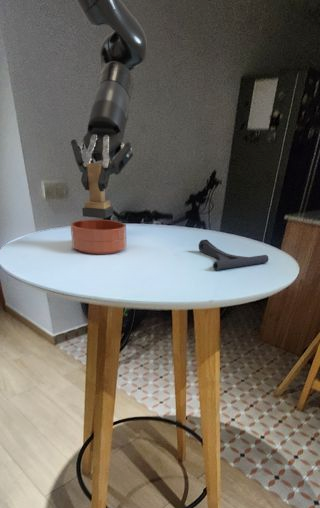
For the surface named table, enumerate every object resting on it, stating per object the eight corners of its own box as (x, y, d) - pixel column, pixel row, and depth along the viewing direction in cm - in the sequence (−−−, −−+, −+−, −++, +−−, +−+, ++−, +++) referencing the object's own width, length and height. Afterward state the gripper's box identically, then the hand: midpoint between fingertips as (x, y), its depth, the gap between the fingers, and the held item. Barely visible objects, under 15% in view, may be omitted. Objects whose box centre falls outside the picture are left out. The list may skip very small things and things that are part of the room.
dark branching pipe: (223, 248, 90) (224, 236, 88) (267, 263, 80) (270, 250, 78) (175, 254, 83) (176, 241, 82) (217, 272, 73) (219, 257, 72)
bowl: (64, 251, 80) (61, 227, 77) (84, 240, 90) (82, 217, 87) (117, 257, 79) (116, 232, 76) (132, 245, 88) (132, 222, 85)
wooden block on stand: (82, 216, 79) (78, 163, 73) (91, 212, 83) (88, 162, 77) (105, 218, 78) (103, 164, 72) (113, 214, 82) (111, 163, 76)
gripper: (72, 96, 75) (54, 171, 73) (137, 99, 73) (121, 175, 71) (84, 129, 82) (68, 198, 80) (143, 132, 80) (129, 203, 78)
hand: (93, 187), depth 75 cm, fingers closed on wooden block on stand, 2 cm apart
